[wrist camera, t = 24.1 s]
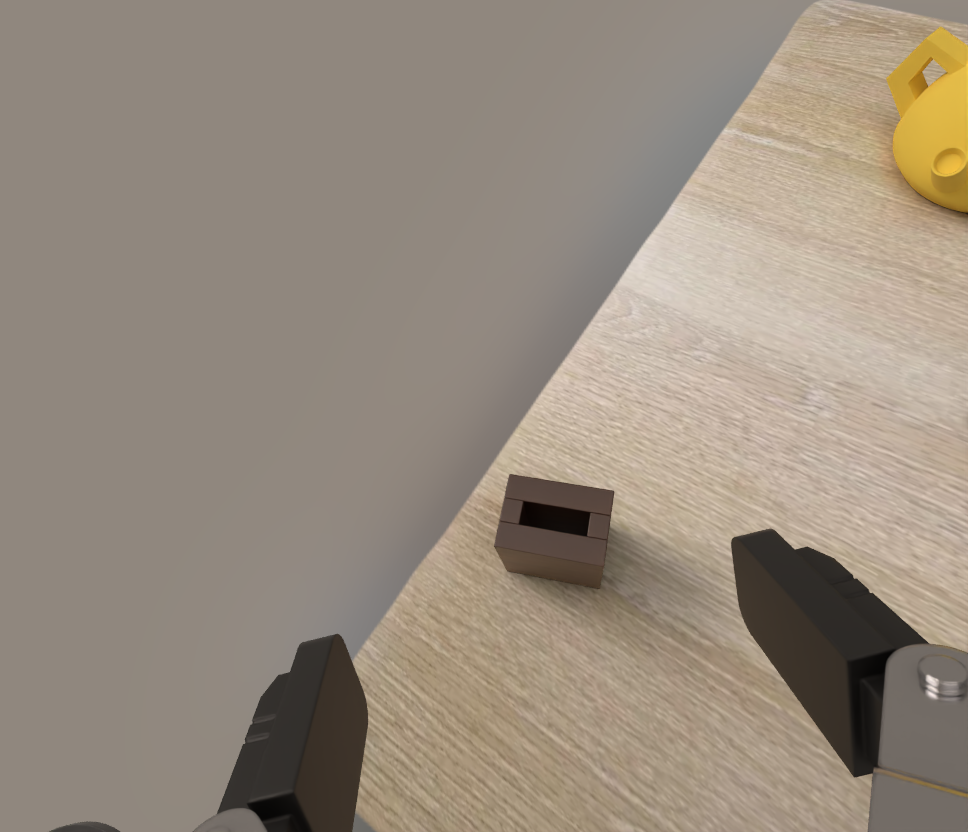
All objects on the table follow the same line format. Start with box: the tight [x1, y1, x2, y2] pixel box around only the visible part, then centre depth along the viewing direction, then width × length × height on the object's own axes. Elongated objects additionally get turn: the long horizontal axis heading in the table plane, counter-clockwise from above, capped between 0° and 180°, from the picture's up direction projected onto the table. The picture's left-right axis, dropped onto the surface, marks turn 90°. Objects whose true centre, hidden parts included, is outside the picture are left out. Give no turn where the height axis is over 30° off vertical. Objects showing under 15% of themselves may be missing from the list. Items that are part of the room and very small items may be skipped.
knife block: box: [494, 474, 614, 589], centre depth 43 cm, size 5×7×8 cm
